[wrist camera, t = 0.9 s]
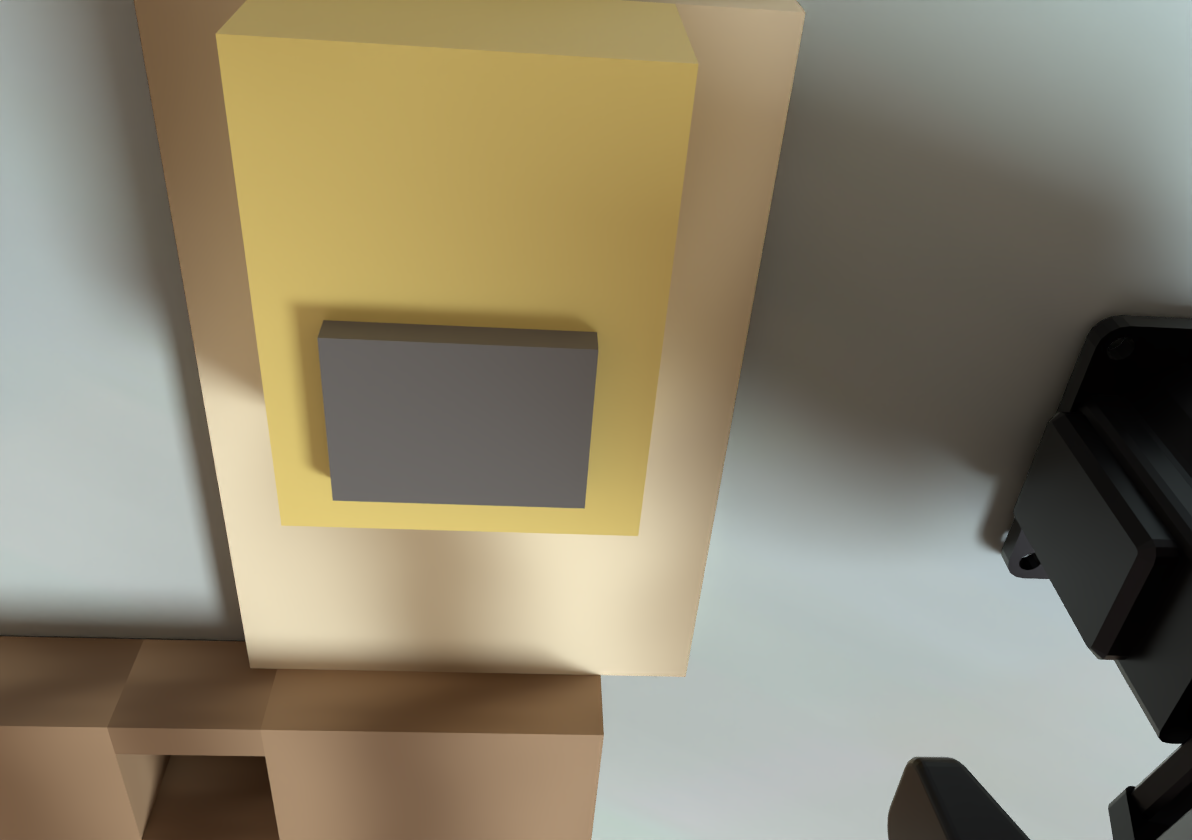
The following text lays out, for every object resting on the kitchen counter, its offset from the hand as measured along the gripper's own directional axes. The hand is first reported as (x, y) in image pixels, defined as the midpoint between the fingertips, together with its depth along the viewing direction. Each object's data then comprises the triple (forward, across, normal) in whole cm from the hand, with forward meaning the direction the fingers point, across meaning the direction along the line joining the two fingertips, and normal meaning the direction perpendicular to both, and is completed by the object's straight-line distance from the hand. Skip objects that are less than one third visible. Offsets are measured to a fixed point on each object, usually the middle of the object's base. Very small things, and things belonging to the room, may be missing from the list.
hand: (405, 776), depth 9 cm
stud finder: (+11, 0, 0) cm, 11 cm away
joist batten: (+12, +5, +13) cm, 18 cm away
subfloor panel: (+12, 0, +3) cm, 12 cm away
